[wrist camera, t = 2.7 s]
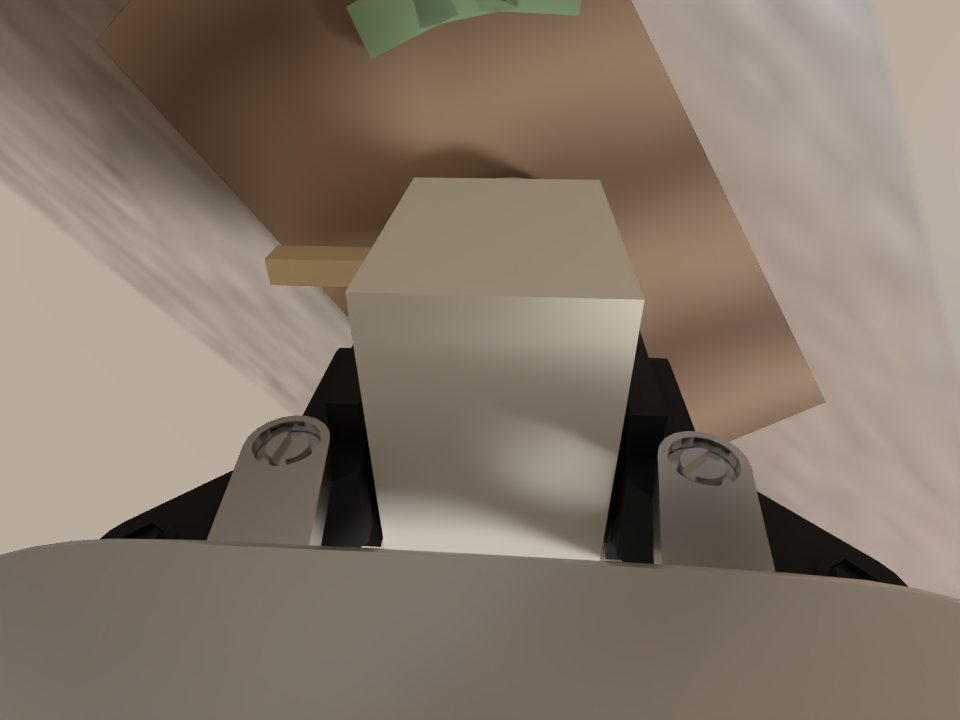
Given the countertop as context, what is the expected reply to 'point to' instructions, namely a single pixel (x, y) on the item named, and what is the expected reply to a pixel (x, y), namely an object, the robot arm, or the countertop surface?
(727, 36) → the countertop surface
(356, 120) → the dial board
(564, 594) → the robot arm
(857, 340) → the countertop surface
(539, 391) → the knob
